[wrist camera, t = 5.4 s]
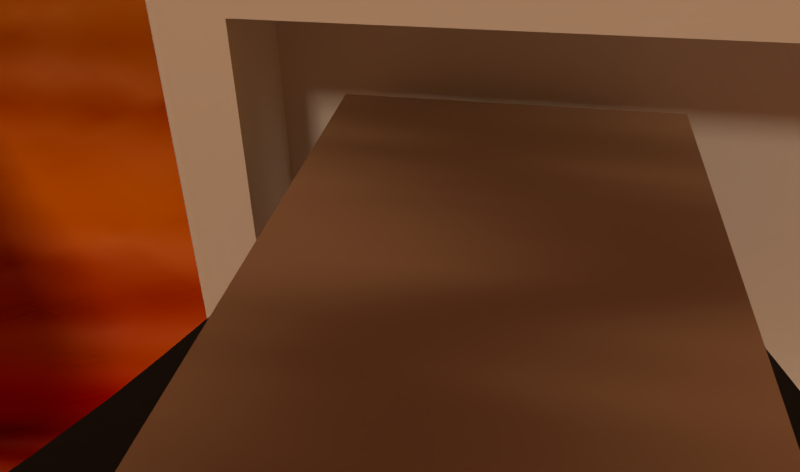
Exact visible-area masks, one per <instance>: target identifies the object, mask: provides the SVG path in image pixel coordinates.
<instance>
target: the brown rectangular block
mask: <svg viewBox="0 0 800 472" xmlns="http://www.w3.org/2000/svg"><path fill="white" fill-rule="evenodd" d="M115 472H800V450H799V447H798V444H797V441H796V438H795V435H794V432H793V429H792V426H791V423H790V420H789V417H788V414H787V411H786V408H785V405H784V402H783V399H782V396H781V393H780V390H779V387H778V384H777V381H776V378H775V375H774V372H773V369H772V366H771V363H770V360H769V357H768V354H767V351H766V348H765V345H764V342H763V339H762V336H761V333H760V330H759V327H758V324H757V321H756V319H755V316H754V313H753V310H752V307H751V304H750V301H749V298H748V295H747V292H746V289H745V286H744V283H743V280H742V277H741V274H740V271H739V268H738V265H737V262H736V259H735V256H734V253H733V250H732V247H731V244H730V241H729V238H728V235H727V232H726V229H725V226H724V223H723V220H722V217H721V214H720V211H719V208H718V205H717V202H716V199H715V196H714V193H713V190H712V187H711V184H710V181H709V178H708V175H707V172H706V169H705V166H704V164H703V161H702V158H701V155H700V152H699V149H698V146H697V143H696V140H695V137H694V134H693V131H692V128H691V125H690V122H689V119H688V116H687V114H680V113H663V112H646V111H628V110H611V109H594V108H577V107H560V106H543V105H526V104H509V103H492V102H475V101H457V100H440V99H423V98H406V97H389V96H372V95H355V94H346V95H345V96H344V98H343V99H342V101H341V103H340V104H339V106H338V108H337V109H336V111H335V113H334V114H333V116H332V117H331V119H330V121H329V122H328V124H327V126H326V127H325V129H324V131H323V132H322V134H321V135H320V137H319V139H318V140H317V142H316V144H315V145H314V147H313V149H312V150H311V152H310V153H309V155H308V157H307V158H306V160H305V162H304V163H303V165H302V167H301V168H300V170H299V171H298V173H297V175H296V176H295V178H294V180H293V181H292V183H291V185H290V186H289V188H288V189H287V191H286V193H285V194H284V196H283V198H282V199H281V201H280V203H279V204H278V206H277V207H276V209H275V211H274V212H273V214H272V216H271V217H270V219H269V221H268V222H267V224H266V225H265V227H264V229H263V230H262V232H261V234H260V235H259V237H258V239H257V240H256V242H255V243H254V245H253V247H252V248H251V250H250V252H249V253H248V255H247V257H246V258H245V260H244V261H243V263H242V265H241V266H240V268H239V270H238V271H237V273H236V275H235V276H234V278H233V279H232V281H231V283H230V284H229V286H228V288H227V289H226V291H225V293H224V294H223V296H222V297H221V299H220V301H219V302H218V304H217V306H216V307H215V309H214V311H213V312H212V314H211V315H210V317H209V319H208V320H207V322H206V324H205V325H204V327H203V329H202V330H201V332H200V333H199V335H198V337H197V338H196V340H195V342H194V343H193V345H192V347H191V348H190V350H189V351H188V353H187V355H186V356H185V358H184V360H183V361H182V363H181V365H180V366H179V368H178V369H177V371H176V373H175V374H174V376H173V378H172V379H171V381H170V383H169V384H168V386H167V387H166V389H165V391H164V392H163V394H162V396H161V397H160V399H159V401H158V402H157V404H156V405H155V407H154V409H153V410H152V412H151V414H150V415H149V417H148V419H147V420H146V422H145V423H144V425H143V427H142V428H141V430H140V432H139V433H138V435H137V436H136V438H135V440H134V441H133V443H132V445H131V446H130V448H129V450H128V451H127V453H126V454H125V456H124V458H123V459H122V461H121V463H120V464H119V466H118V468H117V469H116V471H115Z"/></svg>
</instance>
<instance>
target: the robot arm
mask: <svg viewBox="0 0 800 472" xmlns="http://www.w3.org/2000/svg"><path fill="white" fill-rule="evenodd" d="M208 319H209V318H207V319H206V320H205V321H204V322H203V323H201V324H200V325H199V326H198V327H197V328H195V329H194V330H193V331H192V332H191V333H189V334H188V335H187V336H186V337H185V338H183V339H182V340H181V341H180V342H179V343H177V344H176V345H175V346H174V347H173V348H171V349H170V350H169V351H168V352H167V353H165V354H164V355H163V356H162V357H160V358H159V359H158V360H157V361H156V362H154V363H153V364H152V365H151V366H149V367H148V368H147V369H146V370H144V371H143V372H142V373H141V374H139V375H138V376H137V377H136V378H134V379H133V380H132V381H131V382H129V383H128V384H127V385H126V386H124V387H123V388H122V389H121V390H119V391H118V392H117V393H116V394H114V395H113V396H112V397H111V398H109V399H108V400H107V401H105V402H104V403H103V404H101V405H100V406H98V407H97V408H96V409H94V410H93V411H92V412H90V413H89V414H88V415H86V416H85V417H84V418H82V419H81V420H79V421H78V422H77V423H75V424H74V425H73V426H71V427H70V428H69V429H67V430H66V431H65V432H63V433H62V434H61V435H59V436H58V437H56V438H55V439H54V440H52V441H51V442H50V443H48V444H47V445H46V446H44V447H43V448H42V449H40V450H39V451H37V452H36V453H35V454H33V455H32V456H31V457H29V458H28V459H26V460H25V461H23V462H22V463H20V464H19V465H18V466H16V467H15V468H13V469H12V470H10V471H9V472H115V471H116V469H117V468H118V466H119V464H120V463H121V461H122V459H123V458H124V456H125V454H126V453H127V451H128V450H129V448H130V446H131V445H132V443H133V441H134V440H135V438H136V436H137V435H138V433H139V432H140V430H141V428H142V427H143V425H144V423H145V422H146V420H147V419H148V417H149V415H150V414H151V412H152V410H153V409H154V407H155V405H156V404H157V402H158V401H159V399H160V397H161V396H162V394H163V392H164V391H165V389H166V387H167V386H168V384H169V383H170V381H171V379H172V378H173V376H174V374H175V373H176V371H177V369H178V368H179V366H180V365H181V363H182V361H183V360H184V358H185V356H186V355H187V353H188V351H189V350H190V348H191V347H192V345H193V343H194V342H195V340H196V338H197V337H198V335H199V333H200V332H201V330H202V329H203V327H204V325H205V324H206V322H207V320H208ZM766 351H767V354H768V357H769V360H770V363H771V366H772V369H773V372H774V375H775V378H776V381H777V384H778V387H779V390H780V393H781V396H782V399H783V402H784V405H785V408H786V411H787V414H788V417H789V420H790V423H791V426H792V429H793V432H794V435H795V438H796V441H797V444H798V447H799V450H800V390H799V389H798V388H797V386H796V385H795V384H794V383H793V381H792V380H791V379H790V378H789V376H788V375H787V374H786V373H785V371H784V370H783V369H782V368H781V366H780V365H779V364H778V363H777V361H776V360H775V359H774V358H773V356H772V355H771V354H770V353H769V352H768V350H767V349H766Z"/></svg>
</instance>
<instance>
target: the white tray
mask: <svg viewBox="0 0 800 472" xmlns="http://www.w3.org/2000/svg"><path fill="white" fill-rule="evenodd" d="M145 2H146V7H147V12H148V17H149V22H150V27H151V33H152V38H153V43H154V48H155V53H156V58H157V63H158V69H159V74H160V79H161V84H162V89H163V94H164V99H165V105H166V110H167V115H168V120H169V125H170V130H171V135H172V141H173V146H174V151H175V156H176V161H177V166H178V171H179V177H180V182H181V187H182V192H183V197H184V202H185V207H186V213H187V218H188V223H189V228H190V233H191V238H192V243H193V249H194V254H195V259H196V264H197V269H198V274H199V279H200V285H201V290H202V295H203V300H204V305H205V310H206V315H207V318H209V317H210V315H211V314H212V312H213V311H214V309H215V307H216V306H217V304H218V302H219V301H220V299H221V297H222V296H223V294H224V293H225V291H226V289H227V288H228V286H229V284H230V283H231V281H232V279H233V278H234V276H235V275H236V273H237V271H238V270H239V268H240V266H241V265H242V263H243V261H244V260H245V258H246V257H247V255H248V253H249V252H250V250H251V248H252V247H253V245H254V243H255V242H256V240H257V239H258V237H259V235H260V234H261V232H262V230H263V229H264V227H265V225H266V224H267V222H268V221H269V219H270V217H271V216H272V214H273V212H274V211H275V209H276V207H277V206H278V204H279V203H280V201H281V199H282V198H283V196H284V194H285V193H286V191H287V189H288V188H289V186H290V185H291V183H292V181H293V180H294V178H295V176H296V175H297V173H298V171H299V170H300V168H301V167H302V165H303V163H304V162H305V160H306V158H307V157H308V155H309V153H310V152H311V150H312V149H313V147H314V145H315V144H316V142H317V140H318V139H319V137H320V135H321V134H322V132H323V131H324V129H325V127H326V126H327V124H328V122H329V121H330V119H331V117H332V116H333V114H334V113H335V111H336V109H337V108H338V106H339V104H340V103H341V101H342V99H343V98H344V96H345V95H346V94H355V95H372V96H389V97H406V98H423V99H440V100H457V101H475V102H492V103H509V104H526V105H543V106H560V107H577V108H594V109H611V110H628V111H646V112H663V113H680V114H687V116H688V119H689V122H690V125H691V128H692V131H693V134H694V137H695V140H696V143H697V146H698V149H699V152H700V155H701V158H702V161H703V164H704V166H705V169H706V172H707V175H708V178H709V181H710V184H711V187H712V190H713V193H714V196H715V199H716V202H717V205H718V208H719V211H720V214H721V217H722V220H723V223H724V226H725V229H726V232H727V235H728V238H729V241H730V244H731V247H732V250H733V253H734V256H735V259H736V262H737V265H738V268H739V271H740V274H741V277H742V280H743V283H744V286H745V289H746V292H747V295H748V298H749V301H750V304H751V307H752V310H753V313H754V316H755V319H756V321H757V324H758V327H759V330H760V333H761V336H762V339H763V342H764V345H765V348H766V349H767V350H768V352H769V353H770V354H771V355H772V356H773V358H774V359H775V360H776V361H777V363H778V364H779V365H780V366H781V368H782V369H783V370H784V371H785V373H786V374H787V375H788V376H789V378H790V379H791V380H792V381H793V383H794V384H795V385H796V386H797V388H798V389H799V390H800V0H145Z"/></svg>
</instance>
